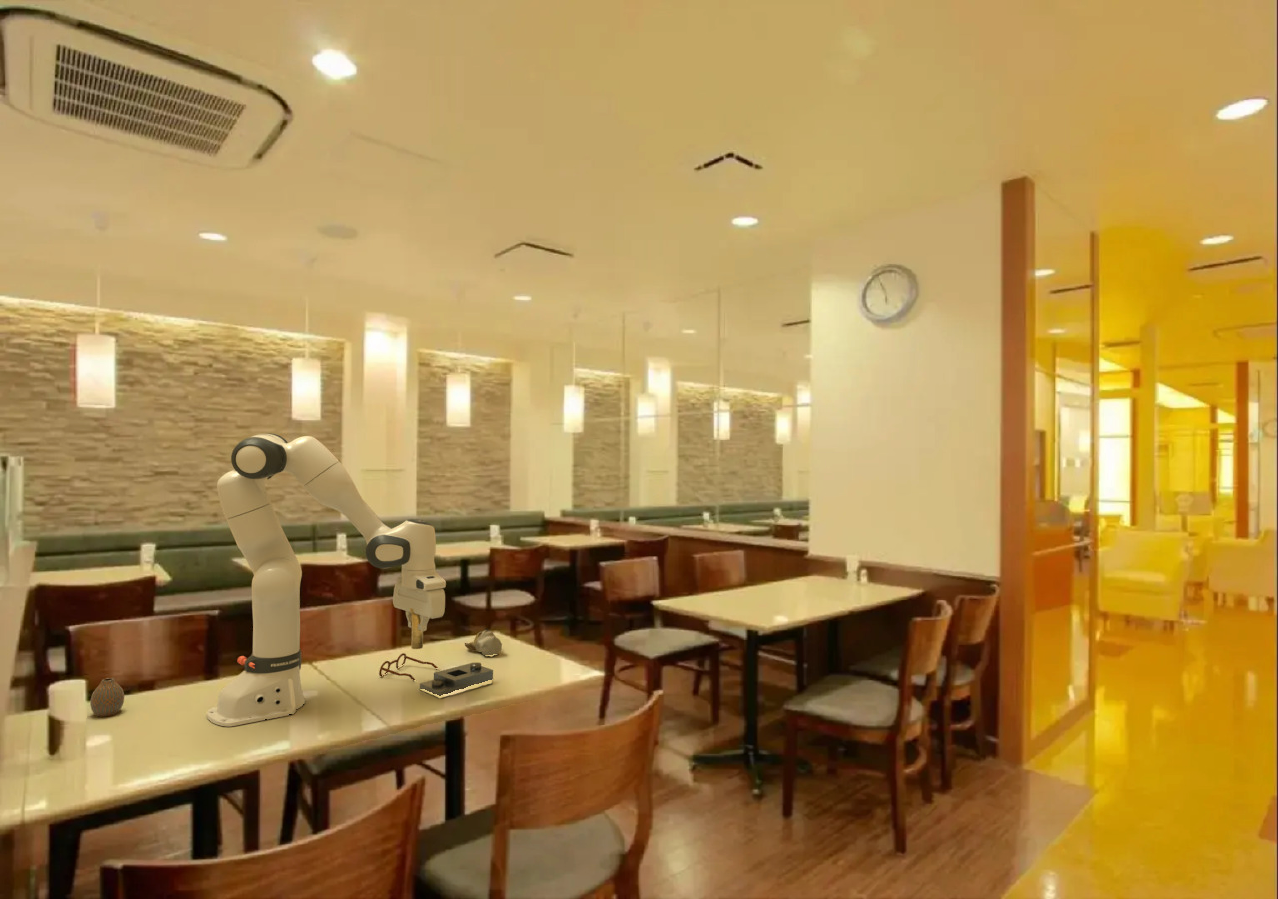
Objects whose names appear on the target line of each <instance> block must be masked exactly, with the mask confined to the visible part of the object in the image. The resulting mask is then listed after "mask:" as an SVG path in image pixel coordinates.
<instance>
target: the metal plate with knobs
mask: <svg viewBox="0 0 1278 899" xmlns="http://www.w3.org/2000/svg"><path fill="white" fill-rule="evenodd" d="M492 679H493V680H494V669H491V668H489V667H485V666H483V665H482V663H481V662H471V663H467V664H462V665H458V666H456V667H451V668H447V669H443V670H437V671H435V672H433V679H431V680H427V681H424V682H423V681H422V682H420V683H419V690H420V689H425V690H427V691H429V692H432V693H433V694H437V695H439V696H441V695H443V694H448V693H451V692H453V691H455V690H459V689H464V688H466V687H468V686H471V685H474V684H479V683H482V682H485V681H488V680H492Z"/></svg>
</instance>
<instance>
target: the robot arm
mask: <svg viewBox="0 0 1278 899" xmlns="http://www.w3.org/2000/svg"><path fill="white" fill-rule="evenodd" d="M230 462H231V465H232V467H233V470H230V471H227V472H226V473H225V474H223V475H222V476H221V477H220V478H219V479H218V480H217V483H216V490H217V494H218V495H217V496H218V499H219V500H218V501H219V503H220V507H221V510H222V513H223V516H224V518H225V519H226V523H227V525H228V526H229V530H230V532H231V534H232V536H233V538H234V541H235V543H236V545H237V547H238V550H240V552H241V554H242V556H243V557H244V559H245V561H246V562H247V564H248V567H249V568H250V570H251V572H252V574H253V577H252V580H251V609H252V626H253V628H252V630H253V631H252V653H251V654H250V656H248V657H246V656H244V655H241V656H238V658H237V663H238V664H240V665H241V666H244V670H243V671H242V672H240V673H239V674H238V675H237V676H236V677H234V679H232V680H231V681H230V682H229V683H227V684H226V685H225V686H224V687H223V688H222V689H221V691H220V692H219V695H218V701H217V705H216V706H214V707H211V708H209V709H208V710H207V713H206V718H207V719H208V721H210V722H211V723H213V724H214V725H218V726H222V727H235V726H239V725H244V724H250V723H255V722H260V721H266V720H265V719H267V720H271V719H276V718H281V717H286V716H290V715H289V714H292V715H293V714H295V713H296V711H297V710H298V709H300V708H301V707H302V706H304V705H303V704H305V703H306V700H305V696H304V693H303V689H302V682H301V680H302V679H301V672H300V670H301V668H302V650H301V648H300V642H301V641H300V639H301V638H300V637H301V613H300V612H301V610H300V609H301V607H300V605H301V602H300V601H301V599H300V598H301V596H300V594H301V593H300V591H301V589H300V588H301V581H302V577H303V571H302V567H301V564H300V562H299V560H298V558H297V556H296V553H295V552H294V550H293V547H292V546H291V544H290V541H289V540H288V538H287V536H286V534H285V531H284V529H283V528H282V525H281V522H280V520H279V518H278V515H277V514H276V511H275V508H274V506H273V503H272V501H271V499H270V497H269V495H268V492H267V489H266V483H267V480H270V479H271V478H272V477H273V476H275V475H276V474H279V473H282V472H285V473H288V474H290V475H291V476H292V477H294V478H295V479H296V480H297V482H298V483H299V484H300V486H302V488H303V489H304V490H305V491H306V492H307V494H309V495H310V496H311V497H312V498H313V499H314V500H315V501H316V502H318V503H319V504H321V505H322V506H323V507H327V508H330V509H333V510H335V511H337V512H339V513H340V514H342V515H343V516H345V518H346V519H347V520H348V521H349V522H350V523H351V524H352V525H353V527H355V529H356V530H357V532H359V533H360V534H361V535H362V537H363V538H364V539H365V542H366V547H365V558H366V560H367V561H368V562H369V564H371V566H373V567H374V568H378V569H390V568H394V567H398V566H401V574H400V575H399V576H398V577H397V579H396V583H395V585H394V588H393V597H392V604H393V607H394V608H396V609H399V610H403V611H405V617H406V619H407V627H408V628H411V629H412V613H410V608H411V609H413V611H414V613H415V614H418V615H420V619H421V622H420V624H418V630H419V631H423V632H425V631H427V629H428V628H427V627H428V622H429V621H430V619H432V620H433V619H439V618H442V617H443V616H444V614H445V611H446V610H445V608H446V593H445V592H446V591H445V590H444V589H445V588H446V585H447V582H446V580H445V579H444V578H443V577H441V575H439V573H438V572H437V571H436V563H435V556H436V552H437V544H436V543H437V541H436V540H437V539H436V530H435V527H434V525H433V524H432V523H431V522H429V521H426V520H423V519H418V518H416V519H415V518H409V519H406V520H405V521H404V522H403V523H401V524H398V525H397V526H395V527H392V526H390V525H388V524H386V523H385V522H384V521H382V520H381V519H380V517H379V516H378V515H377V514H376V513H375V511H374V510H372V508H371V507H370V506H369V504H367V503H366V501H365V500H364V499H363V498H362V496H361V494H360V492H359V490H358V488H357V487H356V485H355V483H354V480H353V478H352V477H351V476H350V474H349V472H348V471H347V469H346V467H345V466H344V465H343V464H342V463H341V462H340V460H339V459H338V458H337V457H336V456H335V455H334V453H332V452H331V451H330V450H329V448H327V447H326V446H325V445H324V444H323V443H322V442H320V441H319V440H318V439H317V438H315V437H314V436H311V435H305V436H300V437H297V438H295V439H293V440H292V441H290V442H289V441H287V439H285V438H284V437H283V436H280V435H279V434H276V433H272V432H271V433H270V432H269V433H256V434H254V435H252V436H249V437H247V438H244V439H242V440H241V441H239V442H238V443H237V444H236V445H235V446H234V447H233V450H232V452H231V457H230ZM296 709H297V710H296Z"/></svg>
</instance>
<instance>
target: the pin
mask: <svg viewBox="0 0 1278 899" xmlns="http://www.w3.org/2000/svg"><path fill="white" fill-rule="evenodd" d="M410 613H412V628H411V649H412V650H422V649H423V646H424V631H419V630H418V624H420V622H421V619H420V615H418V614H415V613H414V611H413V609H411V608H410Z"/></svg>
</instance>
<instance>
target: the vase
mask: <svg viewBox="0 0 1278 899" xmlns="http://www.w3.org/2000/svg"><path fill="white" fill-rule="evenodd" d="M121 686H122V685H121ZM121 686H120V684H119V683H117V682H116V680H115V678H114V677H107V678H103V679H101V681H100V683H99V684H98V686H97V687H96V688H95V689H94V691H93V692H92V694H91V698H90V700H89V703H90V708H91V711H92V714H94V715H95V716H97V717H100V718H101V717H102V718H104V717H105V718H106V717H109V716H110V717H111V716H114V715H116V714H117V713H119V711H120V710H121V709H122V707H123V706H124V702H125V692H124V689H123V688H122V687H121Z"/></svg>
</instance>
